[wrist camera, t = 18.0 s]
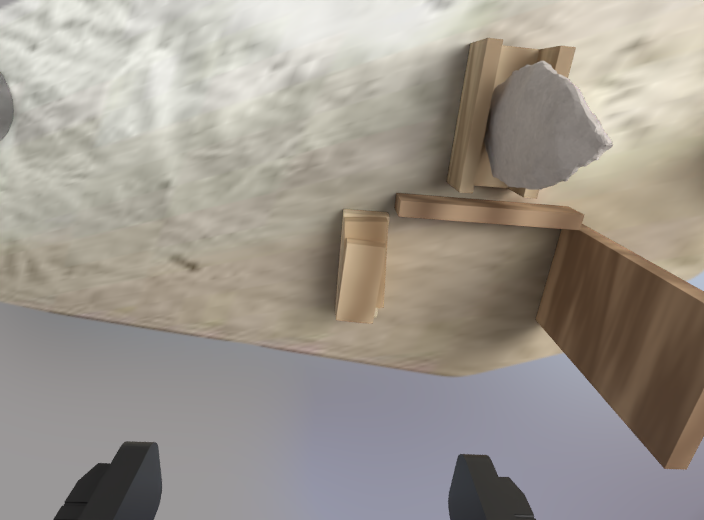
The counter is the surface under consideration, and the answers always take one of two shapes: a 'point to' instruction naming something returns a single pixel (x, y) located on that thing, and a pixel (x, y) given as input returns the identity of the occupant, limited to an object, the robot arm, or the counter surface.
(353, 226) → the offcut stack
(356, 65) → the counter surface
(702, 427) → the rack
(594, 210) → the counter surface
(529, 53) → the holder
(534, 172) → the stone tool
